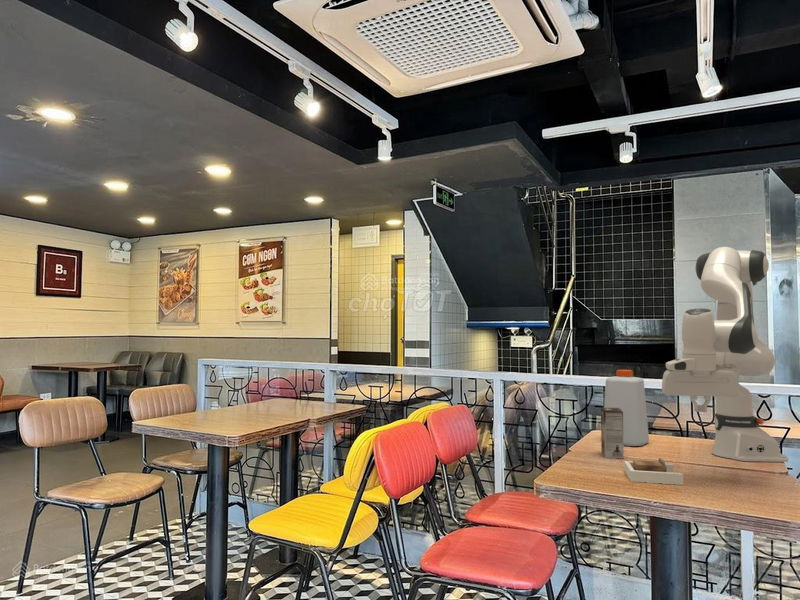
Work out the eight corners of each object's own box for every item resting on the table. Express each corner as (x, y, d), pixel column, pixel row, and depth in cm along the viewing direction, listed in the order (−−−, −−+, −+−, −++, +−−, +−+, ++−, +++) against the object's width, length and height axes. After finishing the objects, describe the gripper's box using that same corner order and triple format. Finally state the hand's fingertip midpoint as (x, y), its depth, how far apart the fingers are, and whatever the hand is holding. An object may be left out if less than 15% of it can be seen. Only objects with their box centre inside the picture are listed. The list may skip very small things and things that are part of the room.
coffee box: (600, 452, 202) (600, 407, 203) (619, 453, 201) (619, 407, 202) (604, 458, 193) (604, 410, 194) (624, 459, 192) (624, 411, 193)
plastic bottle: (612, 437, 231) (611, 368, 232) (651, 442, 221) (650, 370, 223) (598, 443, 219) (598, 370, 221) (639, 448, 210) (638, 372, 211)
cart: (661, 475, 171) (661, 457, 171) (667, 482, 164) (666, 463, 164) (633, 474, 173) (632, 456, 173) (637, 480, 165) (637, 461, 166)
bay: (672, 473, 173) (672, 463, 173) (683, 485, 160) (682, 474, 160) (624, 470, 176) (624, 461, 176) (630, 481, 163) (630, 471, 164)
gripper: (735, 363, 167) (736, 411, 167) (660, 362, 172) (661, 408, 171) (742, 365, 161) (744, 414, 161) (664, 364, 166) (665, 412, 165)
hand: (700, 411), depth 166 cm, fingers closed
